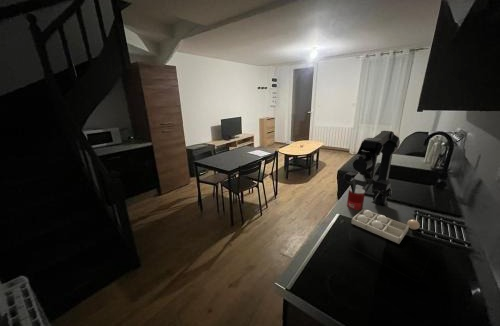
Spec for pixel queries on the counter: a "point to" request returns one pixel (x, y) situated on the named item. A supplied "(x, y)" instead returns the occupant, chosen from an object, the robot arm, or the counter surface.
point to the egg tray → (389, 231)
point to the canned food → (356, 199)
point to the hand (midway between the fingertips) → (363, 196)
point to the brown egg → (413, 224)
